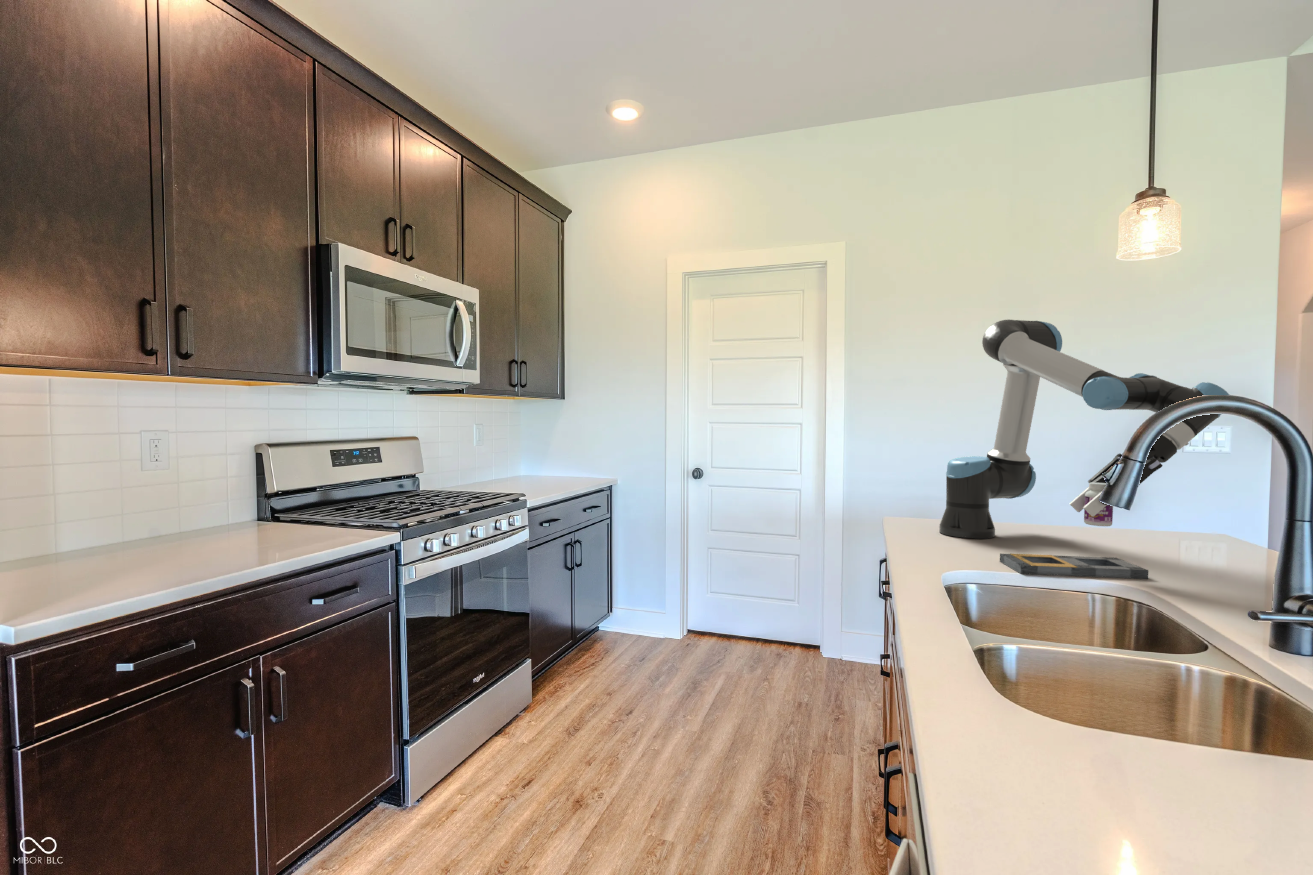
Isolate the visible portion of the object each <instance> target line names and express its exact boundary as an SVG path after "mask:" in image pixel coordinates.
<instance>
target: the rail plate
mask: <svg viewBox="0 0 1313 875" xmlns="http://www.w3.org/2000/svg"><path fill="white" fill-rule="evenodd" d="M999 562H1000V563H1002V564H1003V565H1005V566H1007V567H1008V568H1010V569H1012V570H1014V571H1015V572H1016V573H1019V574H1021V575H1036V576H1037V575H1041V576H1062V577H1063V576H1064V577H1083V578H1084V577H1085V578H1086V577H1087V578H1109V579H1110V578H1112V579H1134V580H1135V579H1136V580H1138V579H1140V580H1148V579H1149V569H1147V568H1144V567H1141V566H1139V565H1137V564H1134V563H1131V562H1129V561H1126V560H1123V559H1121V558H1118V557H1110V556H1109V557H1108V556H1107V557H1106V556H1080V555H1079V556H1078V555H1077V556H1076V555H1054V554H1037V553H1035V554H1034V553H999Z"/></svg>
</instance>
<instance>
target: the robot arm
mask: <svg viewBox="0 0 1313 875" xmlns="http://www.w3.org/2000/svg"><path fill="white" fill-rule="evenodd" d="M981 344H982V349H983V350H984V353H985V354H986V355H987V356H988V357H990V358H992V359H993V360H995V361H998V362H999V363H1001V364H1002V366H1003V367H1004V368H1005V370H1006V371H1007V372H1006V378H1005V382H1004V383H1005V384H1004V390H1003V395H1002V400H1001V405H1000V406H1001V407H1000V412H999V419H998V422H997V423H998V424H997V429H996V435H995V441H994V444H993V446H994V447H993V448H992V449H990V450H989V451H987V454H986V456H979V455H977V456H964V457H963V456H962V457H957V458H952V459H951V460H949V461H948V462H947V465H946V472H945V476H946V480H945V481H946V492H945V493H946V494H945V496H946V497H945V498H946V499H945V500H946V501H945V503H946V504H945V510H944V511H943V515H942V517H941V520H940V523H939V526H938V528H939V534H942V535H946V536H951V537H955V538H964V539H977V540H978V539H979V540H980V539H991V538H994V537H996V527H995V525H994V521H993V519H992V515H991V512H990V500H992V499H993V500H994V499H995V500H997V499H1008V500H1009V499H1011V500H1013V499H1015V498H1021V497H1024V496H1026V495H1028V494H1029V493H1031V491H1032V489H1033V488H1034V486H1035V484H1036V480H1037V474H1036V471H1034V470H1035V468H1034V466H1033V465H1032V464H1031V457H1030V456H1029V455H1028V453H1027V448H1028V443H1029V438H1030V431H1031V427H1032V421H1033V417H1034V416H1033V415H1034V411H1035V407H1036V402H1037V396H1038V390H1039V385H1040V381H1041V380H1040V378H1041V379H1044V380H1046V381H1048V382H1050V383H1052V384H1055V385H1056V386H1059V387H1061V388H1063V389H1065V390H1066V391H1070V393H1073V394H1075V395H1077V396H1080V397H1081V398H1082V400H1083V401H1084V402H1085V404H1086V406H1088V407H1090V408H1092V409H1094V410H1095V409H1096V410H1103V411H1113V410H1119V411H1120V410H1122V411H1123V410H1129V411H1131V410H1133V411H1134V410H1135V411H1137V410H1138V411H1139V410H1140V411H1141V410H1142V411H1143V410H1147V411H1151V412H1153V413H1156V414H1158V413H1157V412H1158V411H1160V410H1162V409H1163V408H1165V407H1168V406H1169V405H1171V404H1174V403H1176V402H1179V401H1183V400H1186V399H1189V398H1193V397H1197V396H1202V395H1230V394H1229V392H1228V391H1227V390H1225V389H1224V388H1223V387H1221V386H1219V385H1217V384H1215V383H1212V382H1209V381H1207V382H1200V383H1199V382H1198V384H1197V385H1194V386H1193V387H1192V388H1189V387H1186V386H1182V385H1179V384H1176V383H1173V382H1171V381H1169V380H1165V379H1162V378H1160V377H1157V376H1156V375H1149V374H1146V373H1143V372H1142V373H1141V372H1139V373H1135V374H1134V375H1131V376H1129V377H1121V376H1118V375H1116V374H1113V373H1110V372H1108V371H1106V370H1103V369H1101V368H1099V367H1097V366H1095V365H1092V364H1089V363H1087V362H1085V361H1082V360H1080V359H1077V358H1075V357H1073V356H1071V355H1068V354H1065V353H1063V352H1061V350H1062V348H1063V337H1062V333H1061V332H1060V330H1058V328H1057V327H1056V326H1055V325H1054V324H1052V323H1050V322H1046V321H1040V320H1024V319H1023V320H1022V319H1021V320H1020V319H1003V320H999V321H996V322H994V323H993V324H991V325H990V326H989V327H988V328H987V329H986V330H985V331H984V334H983V335H982V342H981ZM1221 415H1222V414H1210V415H1202V416H1196V417H1193V418H1190V419H1186V420H1184V421H1182V422H1180V423H1179V424H1176V425H1175V426H1174V427H1172V428H1170V429H1169V430H1167V431H1166V432H1165V433H1163V434H1162V435H1161V436H1160V438H1159V439H1157V441H1156V442H1155V444H1154V445H1153V446H1152V448H1151V450H1150V452H1149V455H1148V457H1147V460H1146V464H1145V467H1144V469H1143V474H1142V477H1141V480H1140V484H1139V486H1140V485H1141V484H1142V483H1143V482H1144V481H1145V480H1147V479H1148V478H1149V477H1150V476H1151V475H1152V474H1154V473H1155V472H1157V471H1158V470H1159V469H1161V468H1162V467H1163V463H1167V461H1169V460H1170V459H1172V457H1173V456H1174V455H1176V454H1177V453H1178V451H1179V450H1181V449H1183V447H1185V446H1186V447H1187V446H1188V445H1189V442H1191V441H1192V440H1193V439H1194V438H1195V437H1196V436H1197V435H1198V434H1199V433H1201V432H1202V431H1203V430H1204V429H1205V428H1206V427H1208V426H1209V425H1210V424H1211V423H1213V422H1214V421H1216V420H1217V419H1219V418H1220V417H1221ZM1122 455H1123V454H1121V453H1117V454H1116V455H1115V456H1114V458H1113V459H1112V460H1111V461H1109V462H1108V463H1107V464H1106V465H1105V466H1104V467H1102V468H1101V469H1100V470H1099V471H1097V472H1096V473H1095V474H1094V475H1093V476H1092V477H1090V479H1088V480H1087V483H1088V484H1089V483H1092V482H1094V483H1106V482H1105V480H1104V478H1103V477H1102V473H1104V472H1106V471H1107V470H1108V469H1109V468H1110V467H1111V466H1113V465H1114V464H1116V463H1118V462H1119V460H1120V458H1121V456H1122ZM1088 491H1090V489H1089V486H1088V487H1086V488H1085V490H1082V492H1081V493H1079V495H1078V496H1076V497H1075V498H1074V499H1073V500H1072V501H1071V502H1069V503H1068V504H1069V505H1070V506H1071V507H1072V508H1073V509H1074V510H1075V511H1076V512H1077V513H1080V512H1082V511H1084V509H1085V510H1086V511H1087V512H1088V513H1089V514H1090V515H1091V516H1093V517H1094V516H1095V515H1096V514H1097V513H1098V512H1099V511H1101V510H1102V509H1103V508H1104V507H1105V506H1106V505H1107V504H1104V503H1102V502H1100V501H1099V498H1100V495H1101V493H1102V491H1103V490H1102V491H1101V492H1100V493H1099V494H1098V495H1097V496H1096V497H1094V498H1093V499H1092V500H1091V501H1090V502H1089V503H1087V504H1086V505H1085V494H1086V492H1088Z"/></svg>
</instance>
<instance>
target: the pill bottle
mask: <svg viewBox="0 0 1313 875" xmlns="http://www.w3.org/2000/svg"><path fill="white" fill-rule="evenodd" d="M1105 486H1106V483H1094V482H1092V483H1089V482H1088V487H1089V489H1090V491H1088V492H1086V494H1085V505H1086V504H1087V503H1089V502H1090V501H1091V500H1092V499H1093V498H1094V497H1096V496H1097V495H1098V494H1099V493H1100V492H1101V491H1102V490H1103V489H1104V487H1105ZM1083 513H1084V514H1083V523H1084V524H1086V525H1089V526H1095V527H1111V526H1112V525H1113V520H1114V519H1113V514H1114V505H1113V506H1110V505H1106V506H1105V507H1104V508H1103V509H1102V510H1101V511H1099V512H1098V513H1097V514H1096V515H1095V516H1094V517H1093V516H1091V515H1090V514H1089V513H1088V512H1087V511H1086V510H1085V509H1083Z"/></svg>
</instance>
